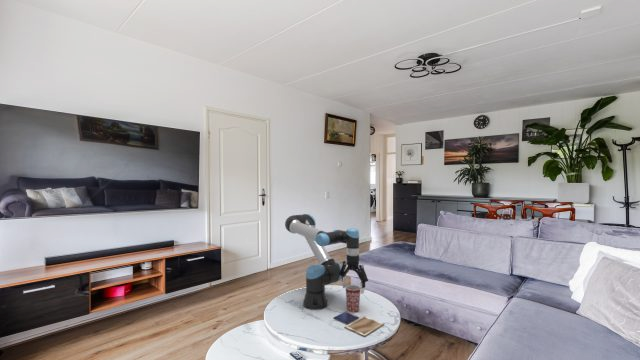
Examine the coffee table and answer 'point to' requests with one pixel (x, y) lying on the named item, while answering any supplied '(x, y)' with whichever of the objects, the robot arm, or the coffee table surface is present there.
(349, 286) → the mug
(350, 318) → the ink pad
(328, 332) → the coffee table surface
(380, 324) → the board
